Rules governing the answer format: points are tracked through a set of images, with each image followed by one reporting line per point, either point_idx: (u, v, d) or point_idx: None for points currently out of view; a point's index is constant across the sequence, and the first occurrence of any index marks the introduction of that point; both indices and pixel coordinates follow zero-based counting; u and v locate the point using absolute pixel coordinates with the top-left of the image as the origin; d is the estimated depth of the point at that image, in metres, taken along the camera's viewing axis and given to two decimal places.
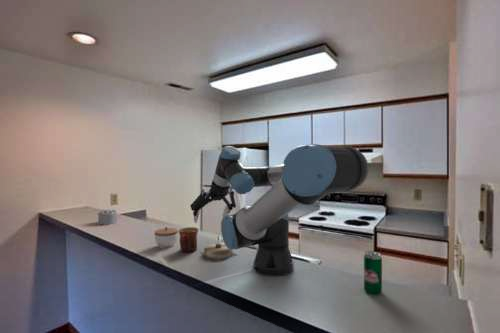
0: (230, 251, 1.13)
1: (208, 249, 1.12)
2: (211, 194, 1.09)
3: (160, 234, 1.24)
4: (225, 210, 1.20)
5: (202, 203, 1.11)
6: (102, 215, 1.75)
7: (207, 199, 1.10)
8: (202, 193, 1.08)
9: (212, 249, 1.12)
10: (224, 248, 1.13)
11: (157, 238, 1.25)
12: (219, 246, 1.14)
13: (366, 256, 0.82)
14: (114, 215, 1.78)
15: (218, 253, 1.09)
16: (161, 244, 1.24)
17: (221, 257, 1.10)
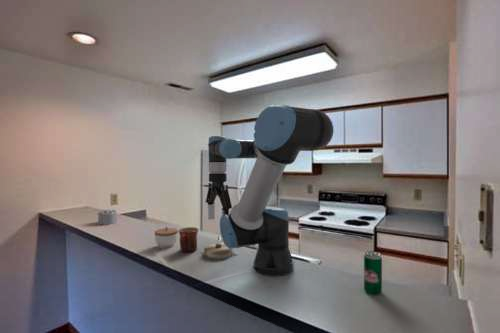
0: (230, 251, 1.13)
1: (208, 249, 1.12)
2: (212, 185, 1.17)
3: (160, 234, 1.24)
4: None
5: None
6: (102, 215, 1.75)
7: None
8: None
9: (212, 249, 1.12)
10: (224, 248, 1.13)
11: (157, 238, 1.25)
12: (219, 246, 1.14)
13: (366, 256, 0.82)
14: (114, 215, 1.78)
15: (218, 253, 1.09)
16: (161, 244, 1.24)
17: (221, 257, 1.10)
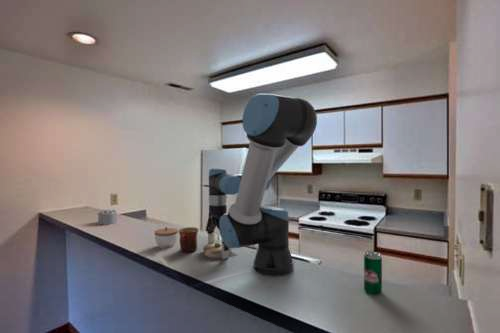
0: (229, 251, 1.13)
1: (207, 248, 1.13)
2: (212, 216, 1.17)
3: (160, 234, 1.24)
4: None
5: None
6: (102, 215, 1.75)
7: None
8: None
9: (211, 249, 1.12)
10: None
11: (157, 238, 1.25)
12: (218, 246, 1.15)
13: (366, 256, 0.82)
14: (114, 215, 1.78)
15: (217, 252, 1.10)
16: (161, 244, 1.24)
17: (220, 256, 1.10)
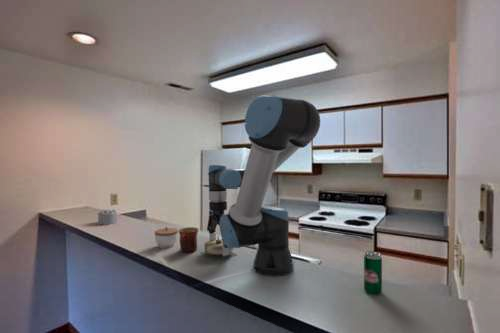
0: None
1: (208, 245, 1.12)
2: (212, 213, 1.17)
3: (160, 234, 1.24)
4: None
5: None
6: (102, 215, 1.75)
7: None
8: None
9: (212, 245, 1.11)
10: None
11: (157, 238, 1.25)
12: (219, 242, 1.14)
13: (366, 256, 0.82)
14: (114, 215, 1.78)
15: (218, 248, 1.09)
16: (161, 244, 1.24)
17: (221, 252, 1.09)
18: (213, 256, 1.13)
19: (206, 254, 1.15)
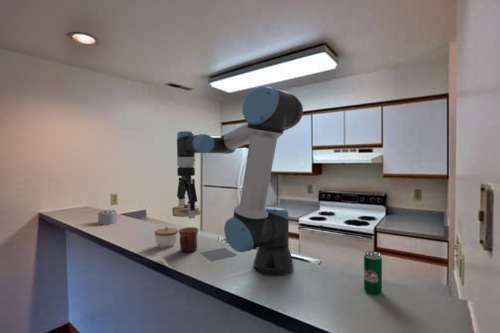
0: (197, 210, 1.16)
1: (176, 208, 1.16)
2: (181, 179, 1.21)
3: (160, 234, 1.24)
4: None
5: None
6: (102, 215, 1.75)
7: None
8: None
9: (179, 208, 1.15)
10: None
11: (157, 238, 1.25)
12: (187, 206, 1.18)
13: (366, 256, 0.82)
14: (114, 215, 1.78)
15: (184, 211, 1.13)
16: (161, 244, 1.24)
17: (187, 215, 1.13)
18: (213, 256, 1.13)
19: (206, 254, 1.15)
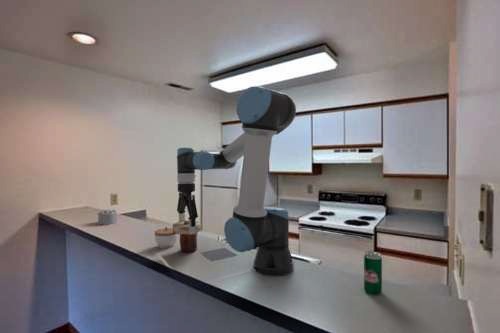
0: (197, 227, 1.16)
1: (176, 225, 1.16)
2: (181, 195, 1.21)
3: (160, 234, 1.24)
4: None
5: None
6: (102, 215, 1.75)
7: None
8: None
9: (179, 225, 1.16)
10: None
11: (157, 238, 1.25)
12: (187, 223, 1.18)
13: (366, 256, 0.82)
14: (114, 215, 1.78)
15: (185, 228, 1.13)
16: (161, 244, 1.24)
17: (188, 232, 1.13)
18: (213, 256, 1.13)
19: (206, 254, 1.15)
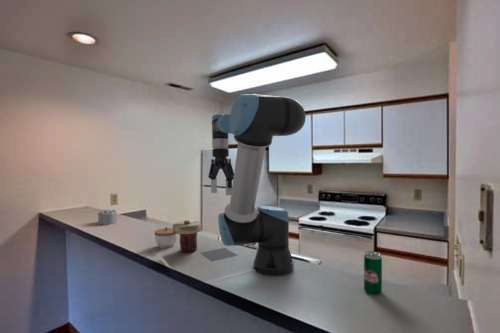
0: (197, 227, 1.16)
1: (176, 225, 1.16)
2: (215, 160, 1.27)
3: (160, 234, 1.24)
4: None
5: None
6: (102, 215, 1.75)
7: None
8: None
9: (179, 225, 1.16)
10: (191, 224, 1.17)
11: (157, 238, 1.25)
12: (187, 223, 1.18)
13: (366, 256, 0.82)
14: (114, 215, 1.78)
15: (185, 228, 1.13)
16: (161, 244, 1.24)
17: (188, 232, 1.13)
18: (213, 256, 1.13)
19: (206, 254, 1.15)
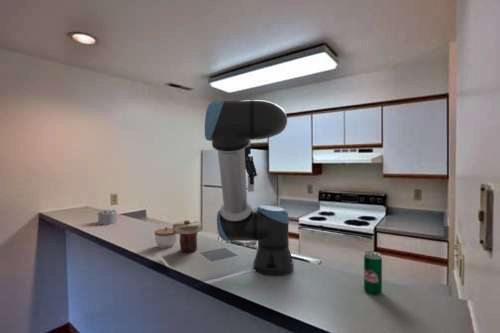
0: (197, 227, 1.16)
1: (176, 225, 1.16)
2: None
3: (160, 234, 1.24)
4: None
5: None
6: (102, 215, 1.75)
7: None
8: None
9: (179, 225, 1.16)
10: (191, 224, 1.17)
11: (157, 238, 1.25)
12: (187, 223, 1.18)
13: (366, 256, 0.82)
14: (114, 215, 1.78)
15: (185, 228, 1.13)
16: (161, 244, 1.24)
17: (188, 232, 1.13)
18: (213, 256, 1.13)
19: (206, 254, 1.15)
